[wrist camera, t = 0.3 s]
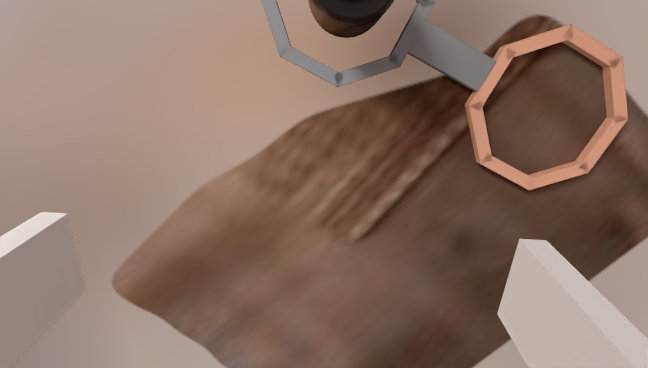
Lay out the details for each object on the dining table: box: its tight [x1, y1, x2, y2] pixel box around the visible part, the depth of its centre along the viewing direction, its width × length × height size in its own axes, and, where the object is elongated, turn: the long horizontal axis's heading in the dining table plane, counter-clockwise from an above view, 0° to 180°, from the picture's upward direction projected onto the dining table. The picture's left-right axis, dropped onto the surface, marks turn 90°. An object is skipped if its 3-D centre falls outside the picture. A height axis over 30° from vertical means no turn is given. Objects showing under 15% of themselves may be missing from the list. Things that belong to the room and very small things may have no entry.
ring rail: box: [261, 0, 628, 190], centre depth 33 cm, size 36×14×1 cm, turn 63°
